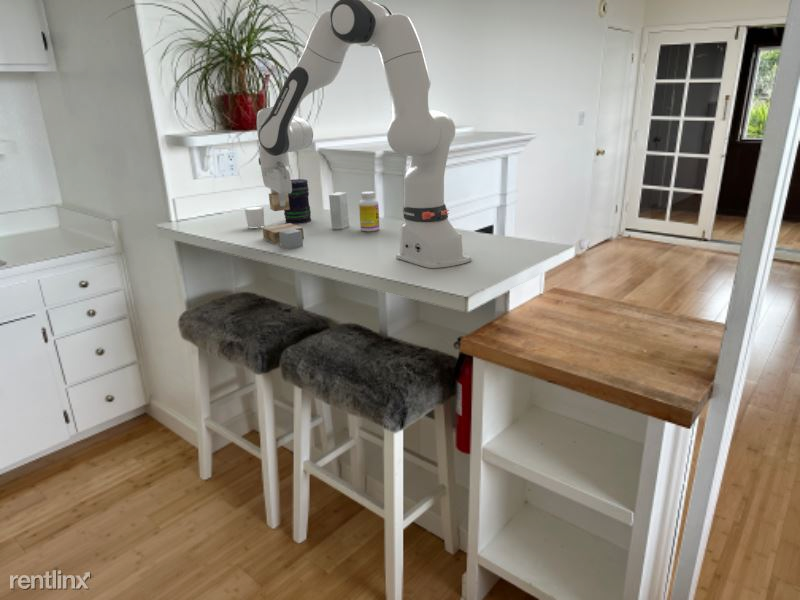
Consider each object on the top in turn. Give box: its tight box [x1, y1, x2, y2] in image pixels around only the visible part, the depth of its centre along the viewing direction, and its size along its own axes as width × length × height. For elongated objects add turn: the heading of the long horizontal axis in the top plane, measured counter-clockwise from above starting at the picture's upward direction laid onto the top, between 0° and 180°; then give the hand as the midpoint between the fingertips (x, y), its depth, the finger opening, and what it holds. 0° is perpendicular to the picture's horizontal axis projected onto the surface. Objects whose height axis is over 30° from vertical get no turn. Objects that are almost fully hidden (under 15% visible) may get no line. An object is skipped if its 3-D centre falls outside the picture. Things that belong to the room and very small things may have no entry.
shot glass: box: [243, 206, 265, 228], centre depth 205 cm, size 7×7×7 cm
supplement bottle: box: [358, 190, 381, 232], centre depth 193 cm, size 7×7×13 cm
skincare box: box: [328, 191, 350, 230], centre depth 198 cm, size 6×4×12 cm
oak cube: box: [268, 192, 290, 212], centre depth 184 cm, size 5×5×5 cm
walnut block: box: [262, 223, 305, 245], centre depth 187 cm, size 10×10×4 cm
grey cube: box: [279, 229, 304, 250], centre depth 176 cm, size 5×5×5 cm
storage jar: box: [283, 178, 312, 225], centre depth 211 cm, size 10×10×15 cm
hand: (279, 204), depth 184 cm, fingers closed on oak cube, 5 cm apart
